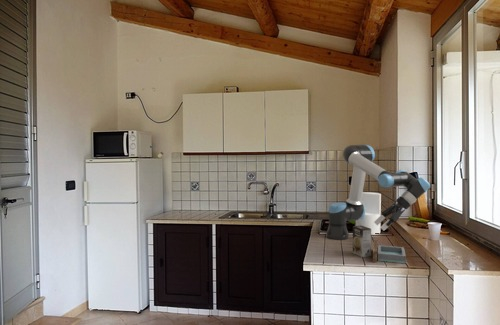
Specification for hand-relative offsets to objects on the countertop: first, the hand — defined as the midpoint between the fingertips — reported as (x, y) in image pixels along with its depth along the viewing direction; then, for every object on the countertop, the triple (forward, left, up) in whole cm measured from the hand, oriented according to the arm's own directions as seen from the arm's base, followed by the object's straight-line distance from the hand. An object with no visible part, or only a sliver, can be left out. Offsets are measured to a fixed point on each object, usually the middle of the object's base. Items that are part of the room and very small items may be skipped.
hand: (378, 226), depth 201 cm
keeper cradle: (+7, -2, -17) cm, 18 cm away
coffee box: (-9, -2, -17) cm, 19 cm away
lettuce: (-13, +82, -17) cm, 85 cm away
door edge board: (-2, -2, -17) cm, 17 cm away
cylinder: (-8, +56, -17) cm, 59 cm away
